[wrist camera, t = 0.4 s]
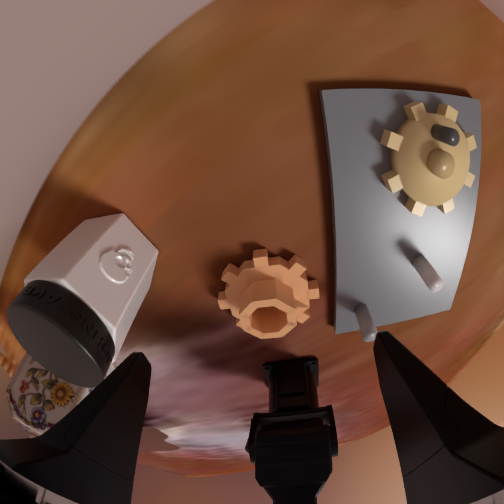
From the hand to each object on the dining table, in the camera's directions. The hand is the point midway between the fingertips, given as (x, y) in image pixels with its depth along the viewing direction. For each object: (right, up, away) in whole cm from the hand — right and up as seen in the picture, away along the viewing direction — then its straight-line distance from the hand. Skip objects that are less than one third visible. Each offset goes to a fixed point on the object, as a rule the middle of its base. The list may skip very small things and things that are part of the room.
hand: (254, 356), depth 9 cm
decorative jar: (-25, -12, +24) cm, 37 cm away
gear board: (+13, +6, +11) cm, 18 cm away
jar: (-12, +4, +14) cm, 19 cm away
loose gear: (+1, 0, +15) cm, 15 cm away
